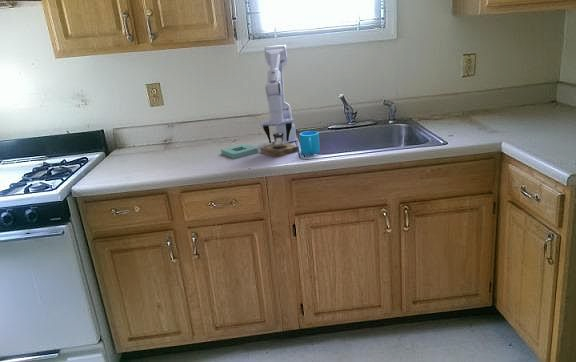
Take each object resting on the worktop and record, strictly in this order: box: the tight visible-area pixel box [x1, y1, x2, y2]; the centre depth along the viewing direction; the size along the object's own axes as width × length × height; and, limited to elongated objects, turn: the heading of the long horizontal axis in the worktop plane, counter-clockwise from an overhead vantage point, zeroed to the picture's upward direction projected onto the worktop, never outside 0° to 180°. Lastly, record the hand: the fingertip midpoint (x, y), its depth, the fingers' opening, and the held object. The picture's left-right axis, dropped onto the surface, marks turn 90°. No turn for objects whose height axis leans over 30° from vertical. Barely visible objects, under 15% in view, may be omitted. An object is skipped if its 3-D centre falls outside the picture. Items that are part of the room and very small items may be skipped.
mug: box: [299, 130, 321, 155], centre depth 190 cm, size 12×8×8 cm
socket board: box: [220, 143, 259, 159], centre depth 201 cm, size 12×12×2 cm
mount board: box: [260, 142, 300, 158], centre depth 198 cm, size 12×12×2 cm
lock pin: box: [272, 132, 284, 149], centre depth 197 cm, size 5×5×8 cm
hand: (278, 141), depth 197 cm, fingers open, 7 cm apart
